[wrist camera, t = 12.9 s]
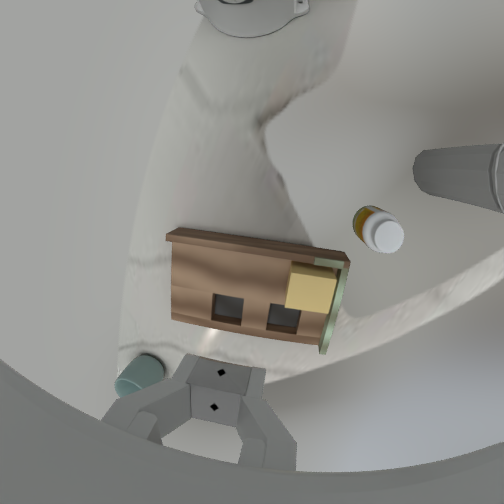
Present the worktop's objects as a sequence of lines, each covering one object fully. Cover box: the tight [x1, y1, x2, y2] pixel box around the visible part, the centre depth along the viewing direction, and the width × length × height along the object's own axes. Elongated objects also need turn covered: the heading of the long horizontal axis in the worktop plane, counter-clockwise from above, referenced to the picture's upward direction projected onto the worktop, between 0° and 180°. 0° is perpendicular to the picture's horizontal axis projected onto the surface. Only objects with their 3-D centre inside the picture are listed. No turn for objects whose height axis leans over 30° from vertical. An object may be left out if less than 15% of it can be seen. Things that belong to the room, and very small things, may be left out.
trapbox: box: [166, 227, 350, 355], centre depth 42 cm, size 16×26×6 cm, turn 83°
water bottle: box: [413, 143, 504, 213], centre depth 24 cm, size 9×8×25 cm
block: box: [285, 261, 337, 314], centre depth 38 cm, size 5×6×5 cm
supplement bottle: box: [353, 206, 404, 253], centre depth 35 cm, size 5×5×10 cm
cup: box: [115, 355, 164, 398], centre depth 48 cm, size 8×8×10 cm
